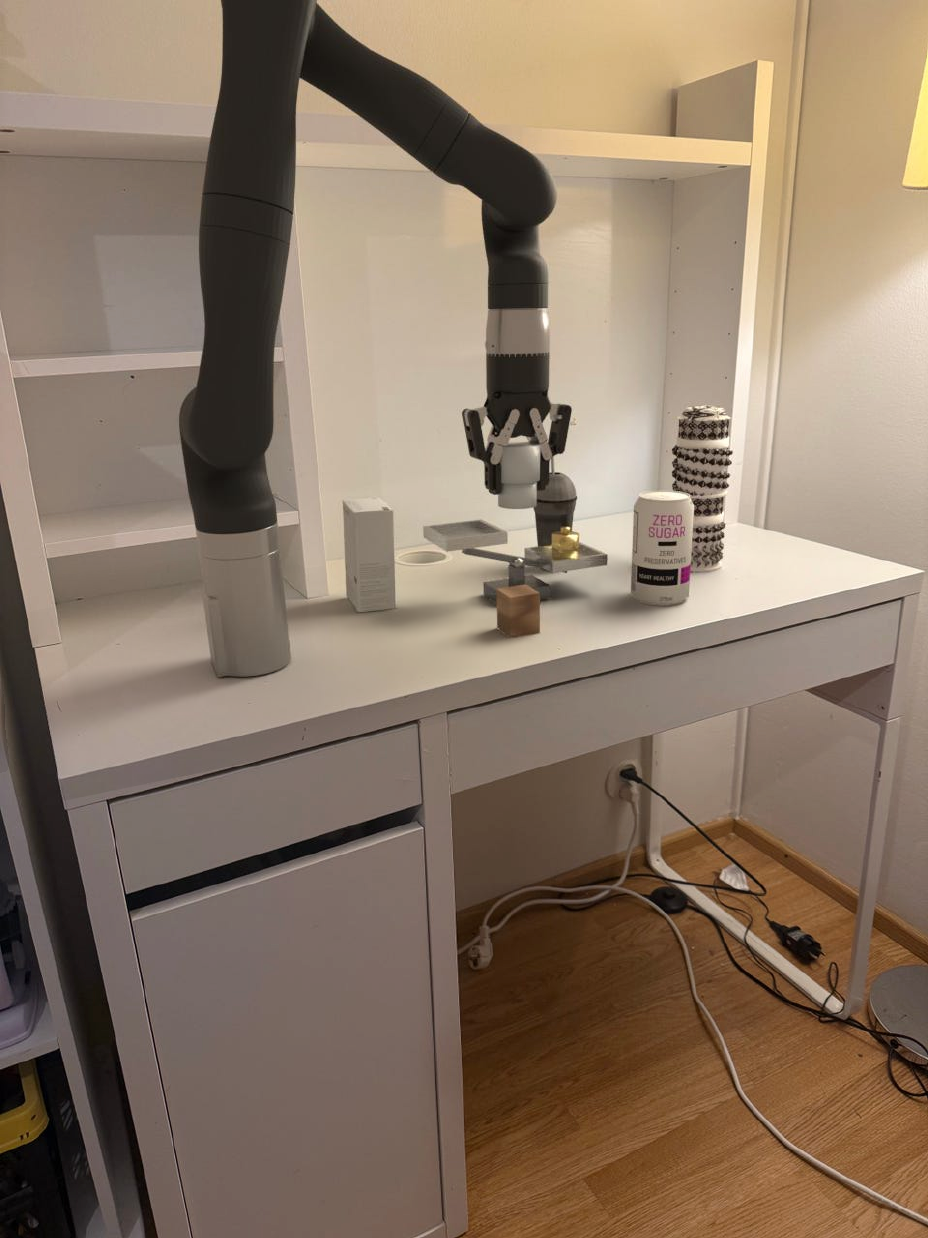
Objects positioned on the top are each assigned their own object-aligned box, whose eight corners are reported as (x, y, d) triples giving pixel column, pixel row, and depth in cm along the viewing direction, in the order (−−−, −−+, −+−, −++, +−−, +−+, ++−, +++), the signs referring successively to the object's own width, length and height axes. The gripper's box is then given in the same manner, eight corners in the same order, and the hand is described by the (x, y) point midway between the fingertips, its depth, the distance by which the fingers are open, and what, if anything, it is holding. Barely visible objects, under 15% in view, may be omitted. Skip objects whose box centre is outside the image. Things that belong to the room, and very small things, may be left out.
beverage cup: (540, 576, 139) (540, 448, 132) (525, 564, 145) (524, 442, 139) (583, 571, 140) (585, 445, 134) (566, 560, 147) (567, 439, 140)
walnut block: (510, 638, 113) (510, 597, 111) (497, 628, 117) (496, 588, 115) (539, 633, 114) (539, 593, 113) (525, 623, 118) (525, 584, 116)
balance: (449, 618, 121) (446, 539, 117) (426, 600, 128) (423, 526, 125) (606, 593, 129) (608, 519, 126) (576, 577, 137) (577, 507, 134)
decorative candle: (669, 572, 139) (677, 410, 130) (663, 557, 147) (670, 404, 139) (728, 573, 137) (740, 409, 129) (719, 557, 146) (730, 403, 138)
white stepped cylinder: (506, 511, 106) (506, 448, 104) (487, 503, 111) (487, 443, 109) (547, 507, 108) (548, 445, 106) (527, 499, 113) (527, 440, 111)
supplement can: (664, 586, 132) (669, 487, 127) (700, 601, 125) (707, 496, 120) (619, 595, 128) (622, 493, 124) (654, 610, 121) (659, 503, 116)
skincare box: (346, 597, 131) (338, 499, 126) (385, 592, 133) (379, 495, 128) (358, 614, 123) (350, 510, 118) (399, 609, 125) (394, 506, 120)
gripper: (474, 352, 98) (476, 502, 103) (586, 348, 103) (582, 491, 109) (449, 350, 105) (452, 491, 110) (556, 347, 110) (554, 482, 115)
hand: (517, 491), depth 109 cm, fingers closed on white stepped cylinder, 5 cm apart
